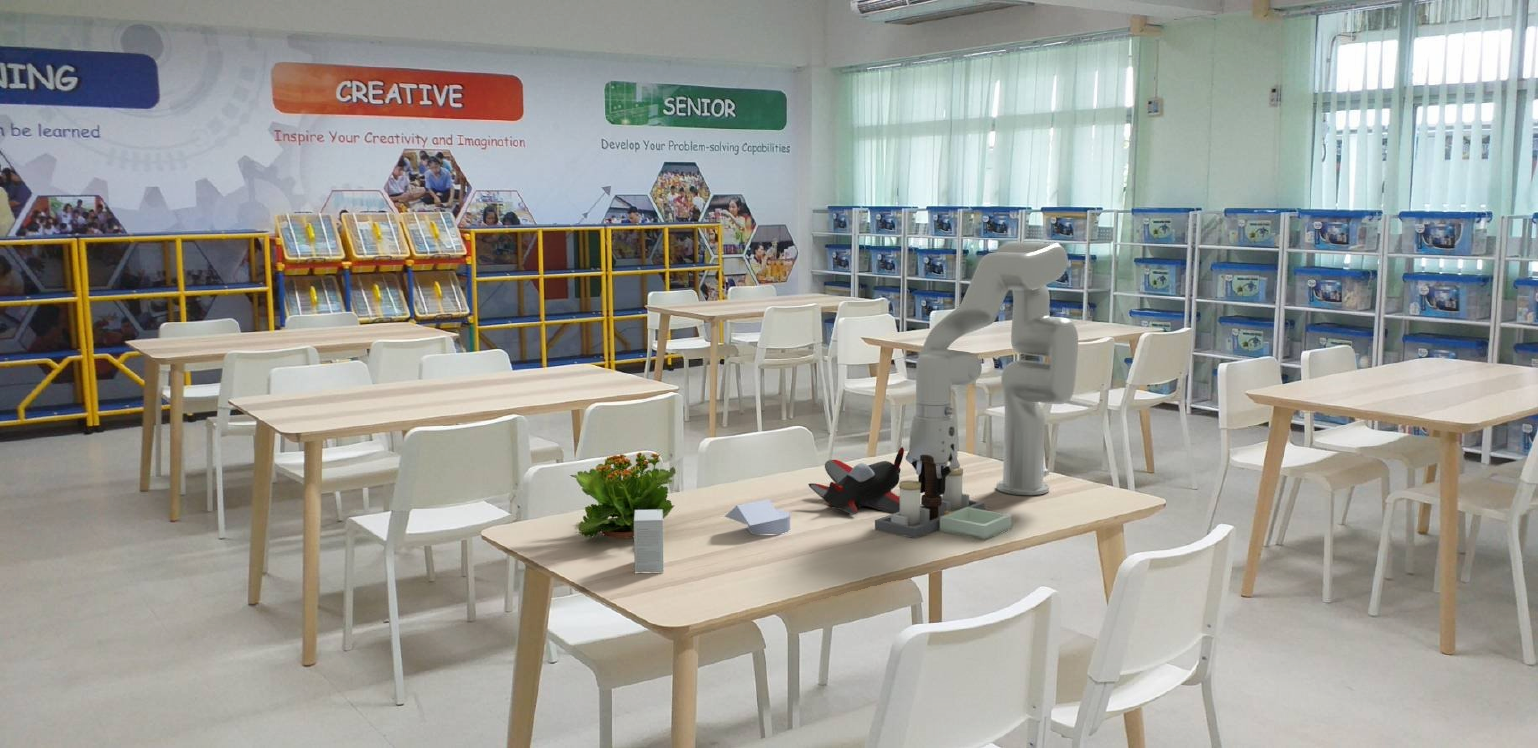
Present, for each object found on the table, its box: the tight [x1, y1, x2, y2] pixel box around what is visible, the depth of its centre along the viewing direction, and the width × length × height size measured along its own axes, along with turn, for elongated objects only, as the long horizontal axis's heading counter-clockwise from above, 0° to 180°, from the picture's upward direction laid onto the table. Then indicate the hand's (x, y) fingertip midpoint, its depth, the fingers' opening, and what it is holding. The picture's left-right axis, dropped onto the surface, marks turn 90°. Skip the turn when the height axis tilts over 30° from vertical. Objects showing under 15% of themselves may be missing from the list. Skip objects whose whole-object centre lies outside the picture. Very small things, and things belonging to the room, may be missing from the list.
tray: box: [939, 507, 1012, 541], centre depth 251 cm, size 11×11×3 cm
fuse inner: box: [941, 467, 964, 512], centre depth 265 cm, size 5×5×10 cm
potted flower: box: [569, 451, 677, 539], centre depth 250 cm, size 25×24×18 cm
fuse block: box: [874, 493, 986, 539], centre depth 259 cm, size 11×28×4 cm, turn 139°
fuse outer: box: [898, 479, 921, 527], centre depth 252 cm, size 5×5×10 cm
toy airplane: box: [807, 446, 905, 515], centre depth 273 cm, size 28×24×15 cm
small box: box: [633, 510, 664, 573], centre depth 226 cm, size 8×6×10 cm
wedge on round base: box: [724, 498, 791, 535], centre depth 251 cm, size 9×7×13 cm
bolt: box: [920, 455, 942, 521], centre depth 258 cm, size 6×5×15 cm
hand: (931, 492), depth 258 cm, fingers closed on bolt, 3 cm apart
